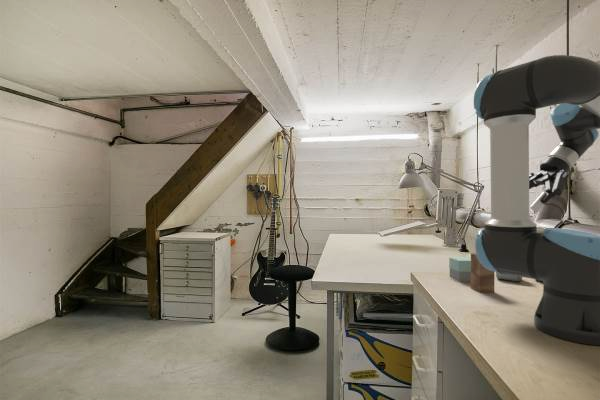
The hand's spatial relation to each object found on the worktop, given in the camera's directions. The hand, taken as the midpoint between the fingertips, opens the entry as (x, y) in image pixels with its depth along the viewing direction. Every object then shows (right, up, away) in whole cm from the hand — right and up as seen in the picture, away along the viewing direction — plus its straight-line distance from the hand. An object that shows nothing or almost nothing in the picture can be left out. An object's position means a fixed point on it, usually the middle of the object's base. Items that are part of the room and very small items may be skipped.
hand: (517, 208), depth 110 cm
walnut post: (-12, -27, -1) cm, 30 cm away
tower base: (-11, -27, +14) cm, 33 cm away
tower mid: (-11, -23, +14) cm, 30 cm away
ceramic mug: (+7, -28, +15) cm, 32 cm away
